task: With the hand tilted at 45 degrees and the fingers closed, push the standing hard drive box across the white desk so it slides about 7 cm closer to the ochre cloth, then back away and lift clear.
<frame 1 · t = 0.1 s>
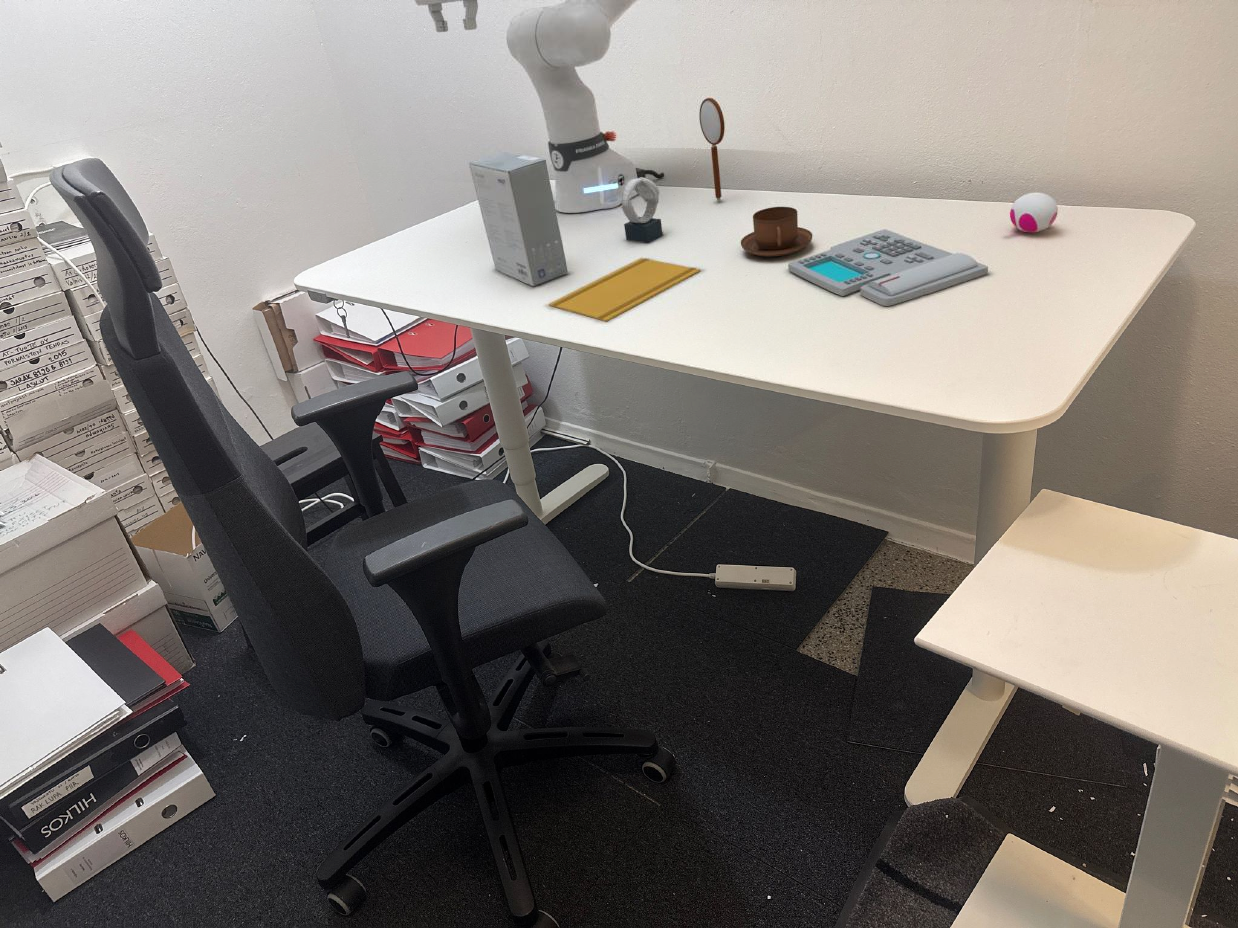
hand: (456, 31, 149), 39 cm above the table, tool pointing down, fingers open, 8 cm apart
hard drive box: (531, 273, 150), on the table
cup and saucer: (776, 250, 140), on the table
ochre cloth: (625, 288, 136), on the table
office telephone: (880, 273, 125), on the table
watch: (644, 238, 157), on the table
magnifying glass: (719, 203, 168), on the table
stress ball: (1027, 232, 129), on the table
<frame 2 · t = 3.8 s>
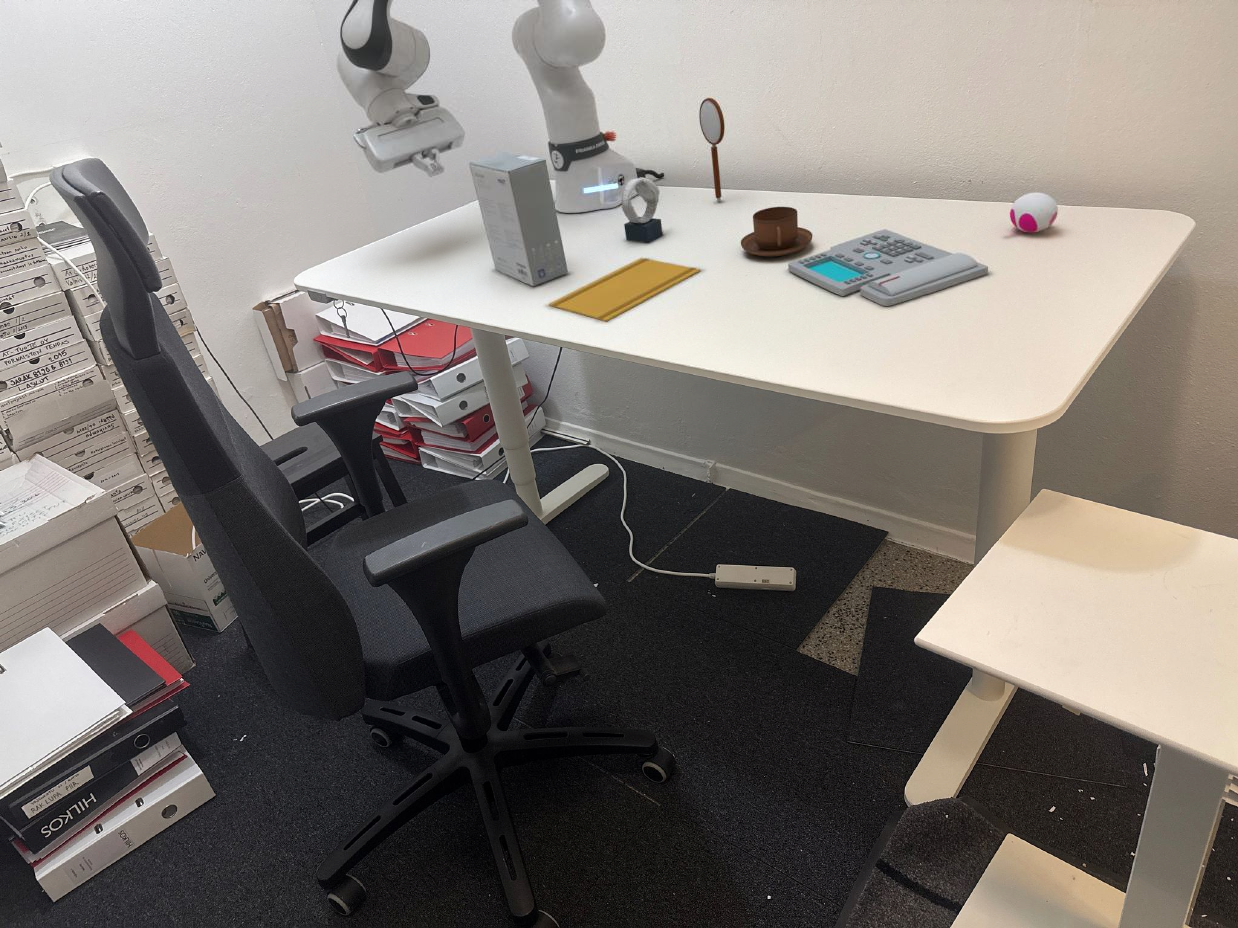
hand: (437, 173, 157), 16 cm above the table, tool tilted 45°, fingers closed
nothing on the table moved.
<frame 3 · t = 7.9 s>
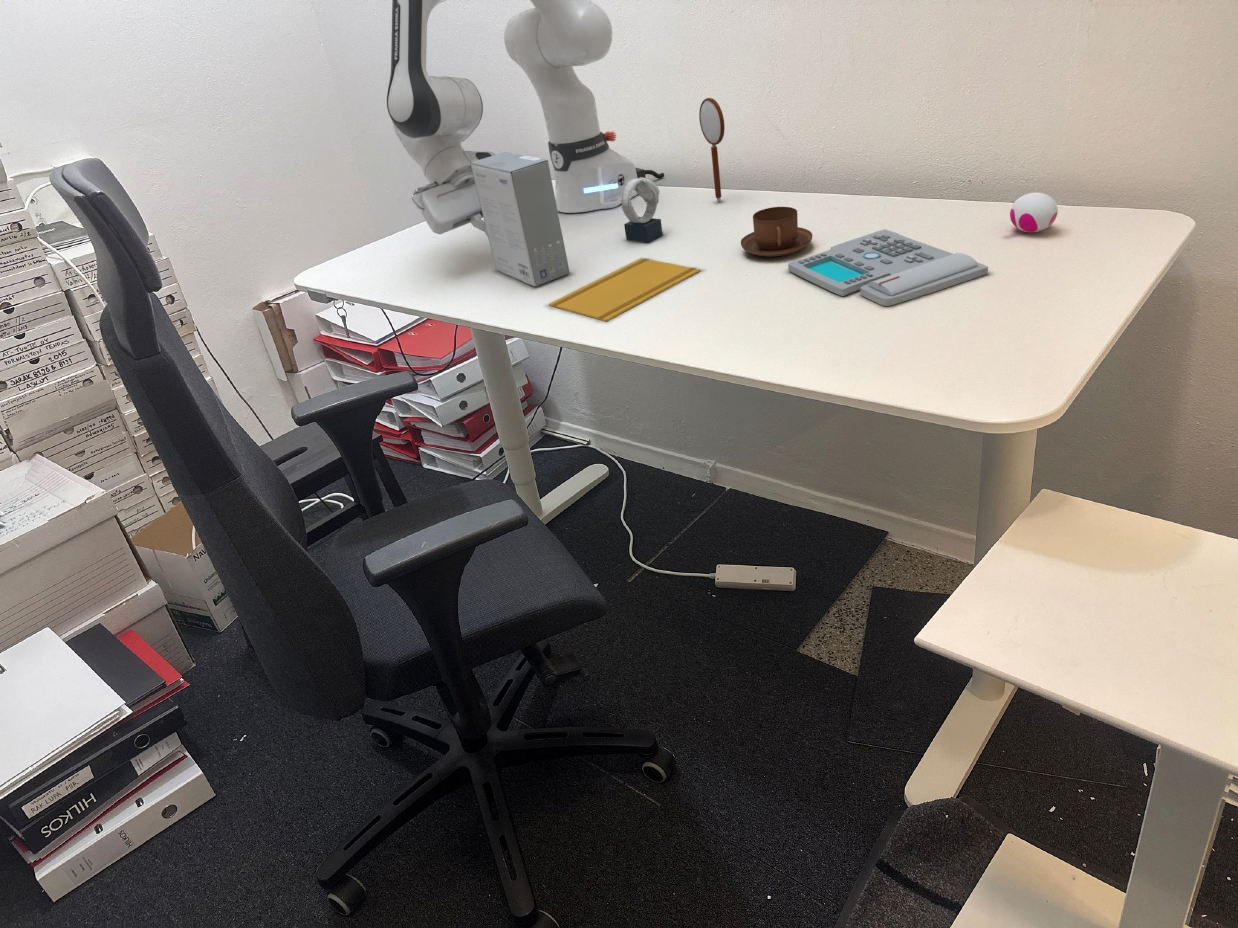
hand: (496, 233, 152), 6 cm above the table, tool tilted 45°, fingers closed
hard drive box: (532, 273, 150), on the table, touching gripper
everything else where it was.
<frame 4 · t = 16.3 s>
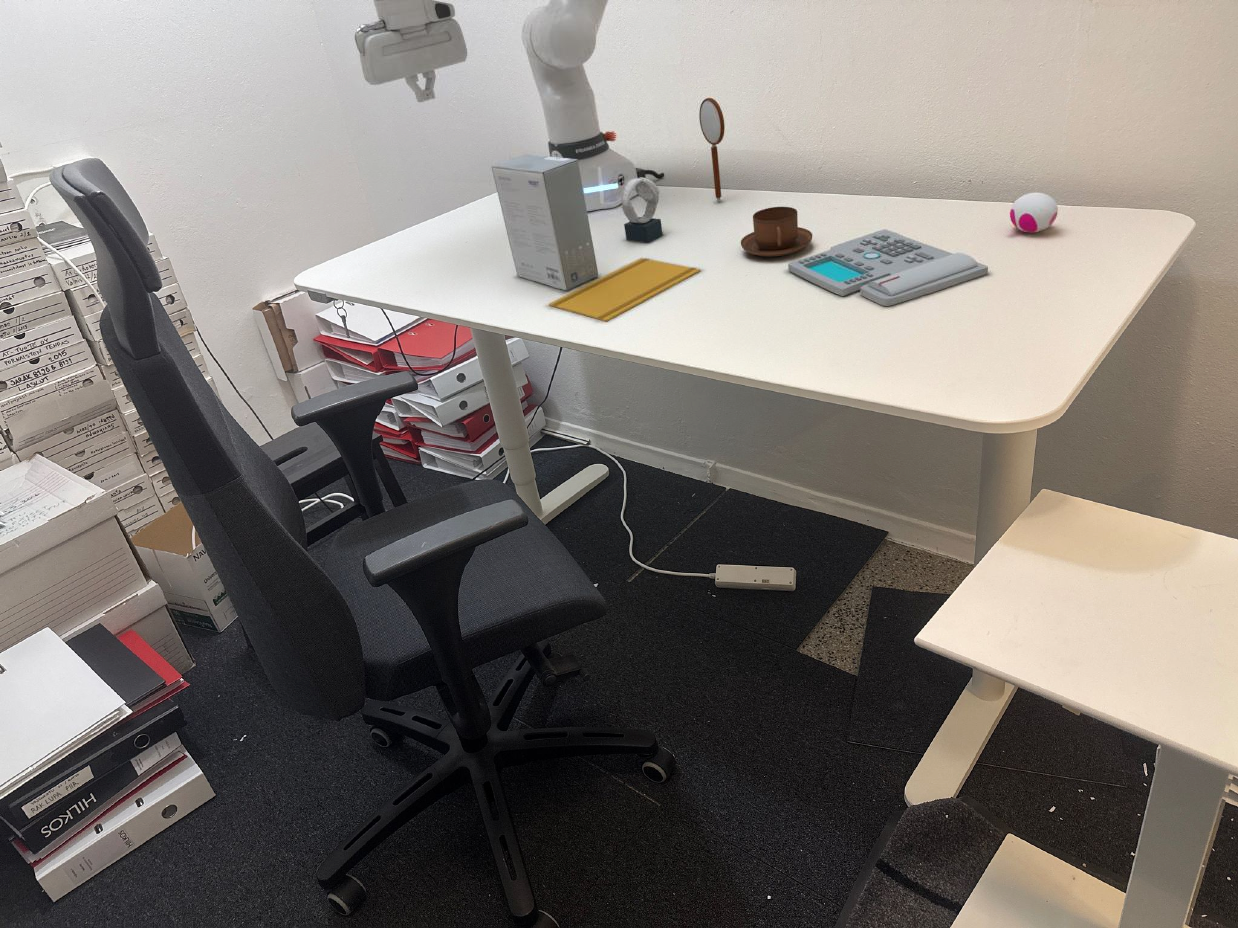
hand: (426, 100, 150), 29 cm above the table, tool pointing down, fingers closed
hard drive box: (557, 277, 146), on the table
everything else where it was.
at the end: hard drive box 16.1 cm from the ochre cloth (horizontally); hard drive box moved 6.9 cm from its start; hard drive box tilted 0° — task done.
